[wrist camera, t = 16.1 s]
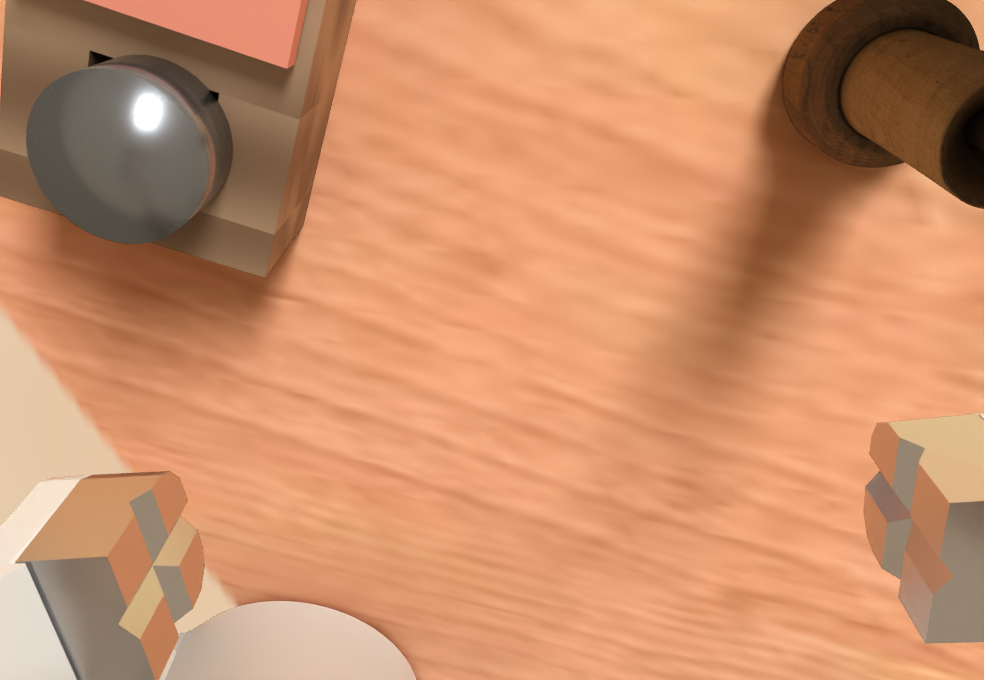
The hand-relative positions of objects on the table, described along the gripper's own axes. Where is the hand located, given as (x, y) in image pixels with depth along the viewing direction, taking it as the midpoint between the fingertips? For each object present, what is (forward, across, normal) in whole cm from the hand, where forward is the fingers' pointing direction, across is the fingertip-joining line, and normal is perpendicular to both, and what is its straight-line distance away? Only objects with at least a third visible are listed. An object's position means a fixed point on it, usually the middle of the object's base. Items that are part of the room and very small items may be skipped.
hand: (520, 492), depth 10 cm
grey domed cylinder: (+26, +13, -1) cm, 29 cm away
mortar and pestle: (+27, -14, +1) cm, 30 cm away
